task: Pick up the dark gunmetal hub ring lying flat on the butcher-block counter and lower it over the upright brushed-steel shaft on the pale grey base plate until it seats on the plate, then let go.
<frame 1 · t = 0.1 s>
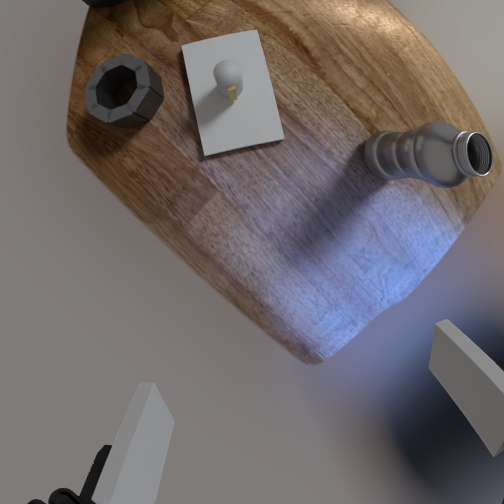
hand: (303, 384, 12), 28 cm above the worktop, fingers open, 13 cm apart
hub: (133, 97, 33), on the worktop
shaft stand: (231, 89, 33), on the worktop
plastic bottle: (379, 156, 36), on the worktop
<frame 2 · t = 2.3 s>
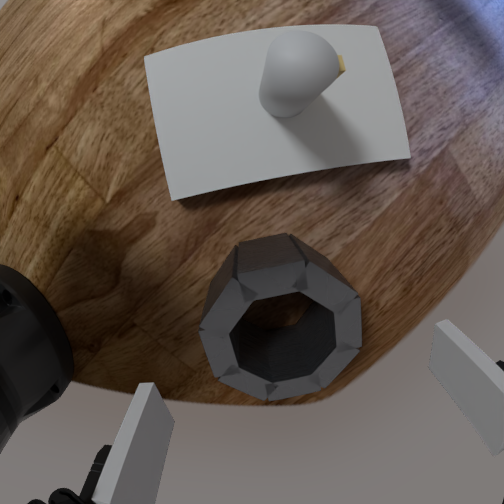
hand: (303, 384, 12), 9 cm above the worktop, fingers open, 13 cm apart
hub: (274, 295, 21), on the worktop
shaft stand: (281, 99, 17), on the worktop
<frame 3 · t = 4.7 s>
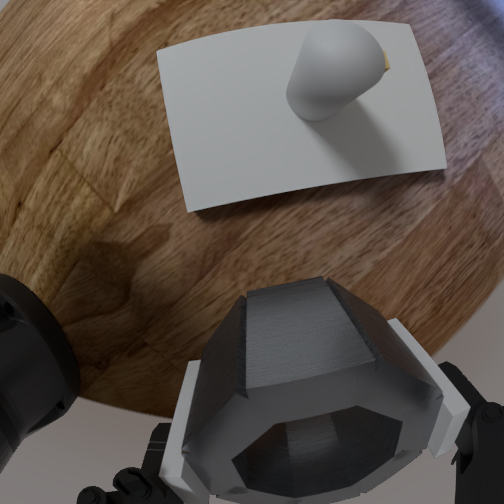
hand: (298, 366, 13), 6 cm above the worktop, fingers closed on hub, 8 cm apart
hub: (298, 363, 13), point 5 cm above the worktop, touching gripper
shaft stand: (309, 100, 15), on the worktop
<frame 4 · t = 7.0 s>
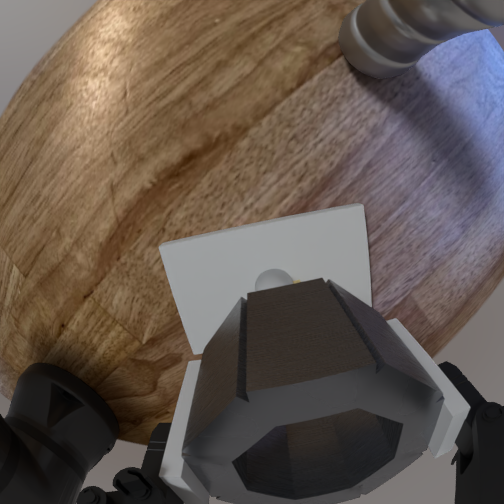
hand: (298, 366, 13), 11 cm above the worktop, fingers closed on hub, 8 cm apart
hub: (298, 364, 13), point 11 cm above the worktop, touching gripper
shaft stand: (272, 281, 24), on the worktop
plastic bottle: (367, 51, 19), on the worktop
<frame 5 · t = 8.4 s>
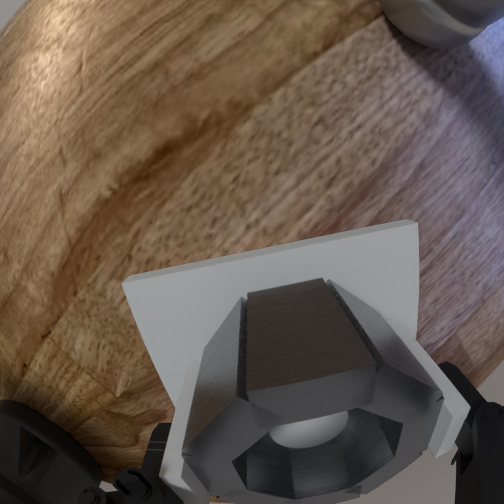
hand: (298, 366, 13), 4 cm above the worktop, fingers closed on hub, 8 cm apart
hub: (298, 364, 13), point 3 cm above the worktop, touching gripper
shaft stand: (286, 328, 16), on the worktop
plastic bottle: (410, 15, 11), on the worktop
when the fingers open (2 cm above the worktop, at t = 9.2 s): hub stays where it is, resting on shaft stand.
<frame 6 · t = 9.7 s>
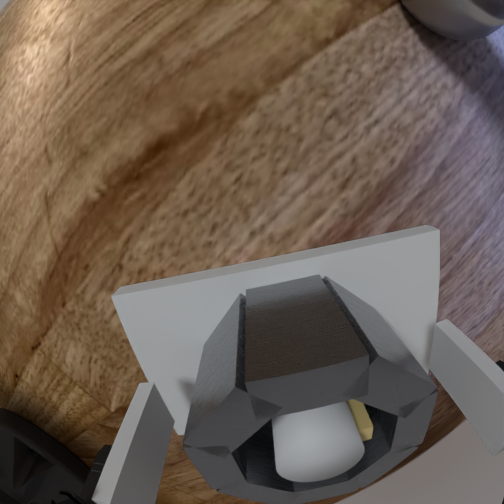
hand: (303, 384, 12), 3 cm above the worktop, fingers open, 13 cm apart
hub: (296, 359, 14), point 1 cm above the worktop, touching shaft stand
shaft stand: (293, 345, 15), on the worktop
plastic bottle: (426, 5, 10), on the worktop
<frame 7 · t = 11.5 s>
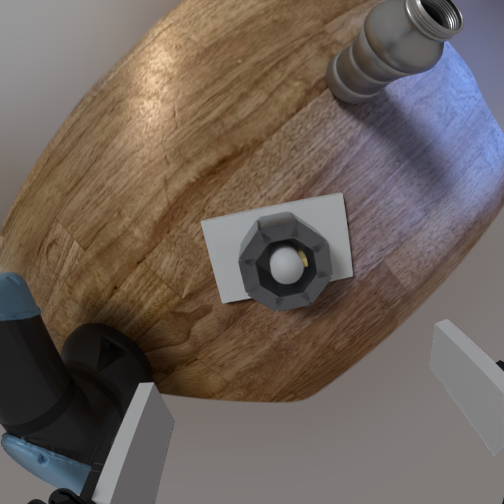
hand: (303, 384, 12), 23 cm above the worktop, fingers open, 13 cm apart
hub: (280, 250, 33), point 1 cm above the worktop, touching shaft stand
shaft stand: (280, 247, 34), on the worktop
plastic bottle: (347, 82, 29), on the worktop
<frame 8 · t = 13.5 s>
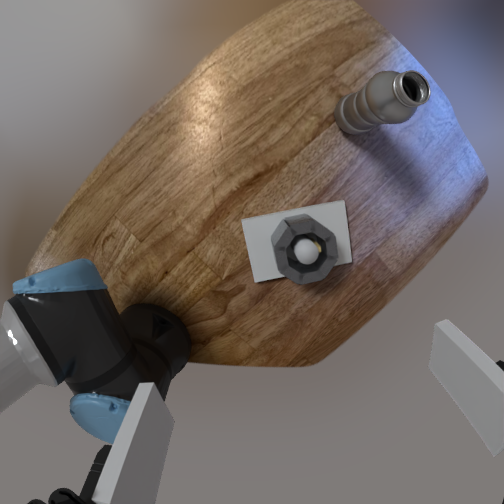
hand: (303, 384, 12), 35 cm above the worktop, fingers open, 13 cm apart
hub: (299, 242, 45), point 1 cm above the worktop, touching shaft stand
shaft stand: (298, 240, 46), on the worktop
plastic bottle: (349, 116, 40), on the worktop
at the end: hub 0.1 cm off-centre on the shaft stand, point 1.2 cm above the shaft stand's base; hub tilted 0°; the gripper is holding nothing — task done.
